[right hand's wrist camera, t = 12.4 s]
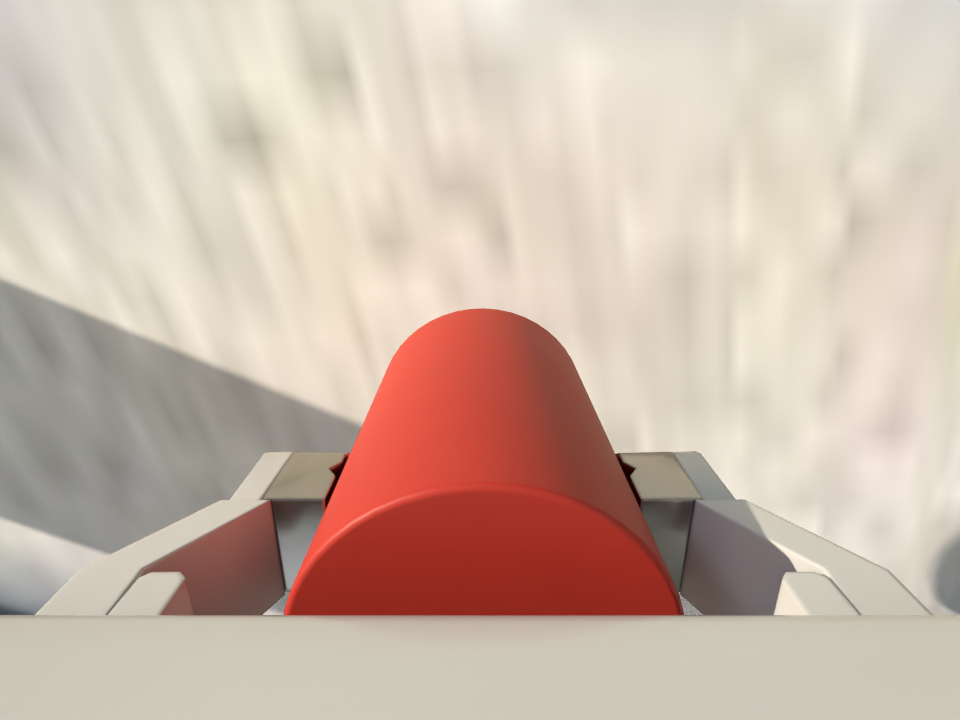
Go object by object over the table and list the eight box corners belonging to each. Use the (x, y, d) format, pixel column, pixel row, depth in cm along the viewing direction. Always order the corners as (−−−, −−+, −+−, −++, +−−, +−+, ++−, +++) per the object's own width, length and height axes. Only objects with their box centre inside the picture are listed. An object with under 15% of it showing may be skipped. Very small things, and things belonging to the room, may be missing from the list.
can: (391, 293, 12) (284, 457, 6) (601, 323, 13) (742, 516, 6) (374, 476, 14) (275, 774, 7) (559, 500, 14) (632, 809, 8)
